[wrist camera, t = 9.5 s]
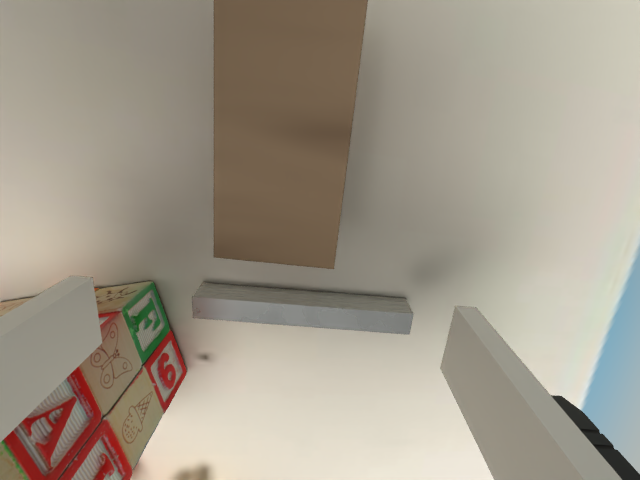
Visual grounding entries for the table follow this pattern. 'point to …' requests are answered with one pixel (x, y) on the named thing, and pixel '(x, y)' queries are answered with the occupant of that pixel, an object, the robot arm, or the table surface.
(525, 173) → the table surface
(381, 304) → the grey bar
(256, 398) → the table surface
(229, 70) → the walnut block
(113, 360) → the stack of blocks
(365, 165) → the table surface
